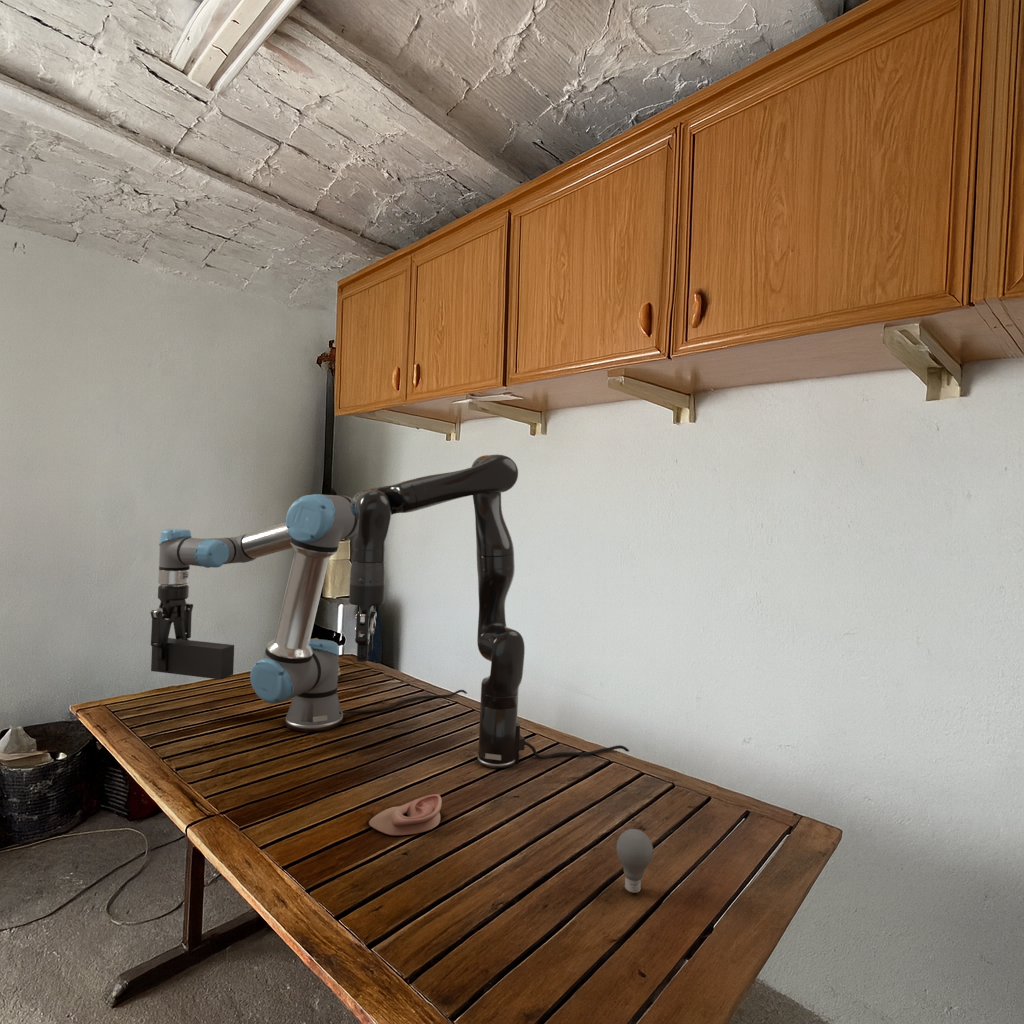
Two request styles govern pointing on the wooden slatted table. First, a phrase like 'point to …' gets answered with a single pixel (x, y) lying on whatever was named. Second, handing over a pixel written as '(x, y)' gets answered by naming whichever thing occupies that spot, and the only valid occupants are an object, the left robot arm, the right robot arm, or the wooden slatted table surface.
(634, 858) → the light bulb
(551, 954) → the wooden slatted table surface
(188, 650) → the bar
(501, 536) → the right robot arm
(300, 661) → the left robot arm
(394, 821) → the anatomical model
